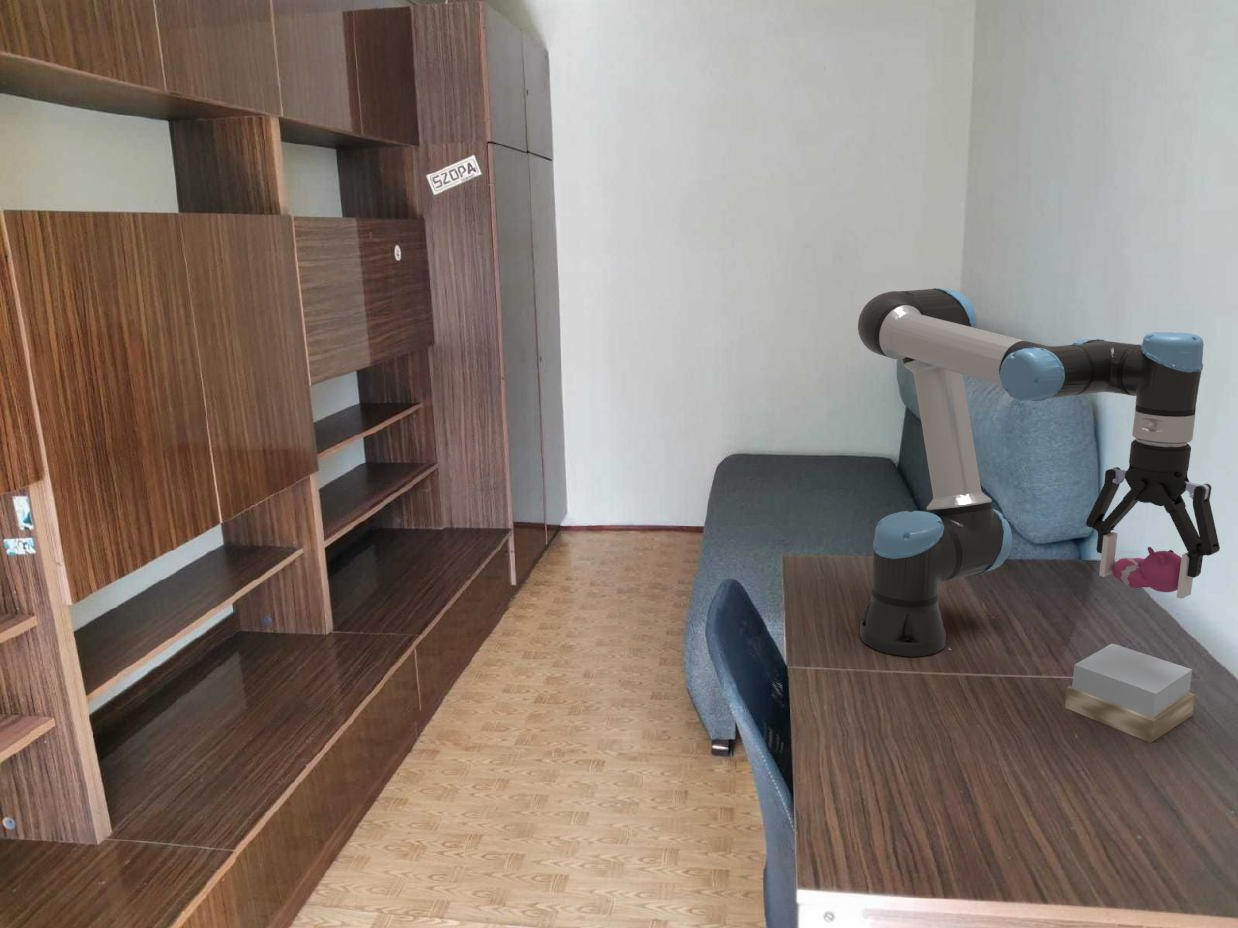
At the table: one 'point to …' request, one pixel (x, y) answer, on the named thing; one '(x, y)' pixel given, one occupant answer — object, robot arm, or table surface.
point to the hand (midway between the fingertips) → (1143, 584)
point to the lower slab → (1130, 714)
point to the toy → (1150, 571)
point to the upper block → (1132, 680)
